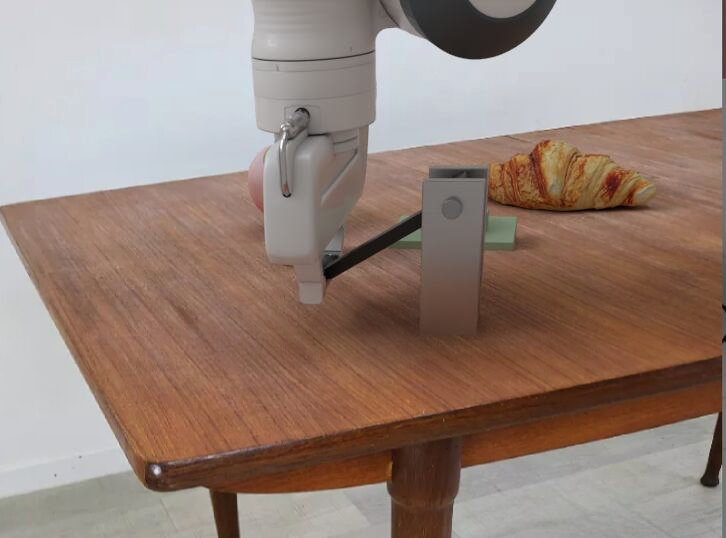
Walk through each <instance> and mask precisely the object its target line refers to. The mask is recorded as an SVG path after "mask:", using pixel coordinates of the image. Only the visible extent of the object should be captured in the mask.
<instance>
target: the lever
mask: <svg viewBox="0 0 726 538" xmlns="http://www.w3.org/2000/svg"><path fill="white" fill-rule="evenodd" d="M455 178H470V177H469V175H468V173H467V171H465V172H463V173H462V174H460V175H458V176H456V177H455ZM408 216H409V217H408V218H406V219H404V220H403V221H401V222H399V223H398V222H397V223H396V224H394V225H392V226H391V227H389V228H387V229H385V230H384V231H382V232H381V233H379V234H377V235H375V236H374V237H372V238H370V239H368V240H366V241H364V242H363V243H361V244H360V245H357V246H356V247H355V248H353V249H351V250H350V251H348V252H346V253H345V254H344V253H343V256H341V257H339V258H337V259H336V258H334V257H333V256H330V255H326V256H324V257H323V259H322V268H323V276H325V280H326V287H325V288H326V290H327V289H328V287H329V285H330V284H331V282H332V281H333V279H335V278H336V277H338V276H340V275H341V274H343V273H345V272H347V271H348V270H350V269H352V268H353V267H356V266H358V265H359V264H360V263H363V262H364V261H366V260H368V259H370V258H371V257H373V256H375V255H376V254H378V253H380V252H382V251H383V250H385V249H388V247H389V246H390V245H392V244H394V243H395V242H397V241H399V240H401V239H402V238H404V237H406V236H408V235H409V234H411V233H413V232H415V231H416V230H418V229H420V228H422V208H421V209H419V210H417V211H416V212H414V213H413V214H411V215H408Z"/></svg>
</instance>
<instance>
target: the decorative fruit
mask: <svg viewBox="0 0 726 538" xmlns="http://www.w3.org/2000/svg"><path fill="white" fill-rule="evenodd" d="M273 145H274V144H270V145H268V146H266V147H263V148H262V149H261V150H260V151H259V152H257V154H256V155H255V156H254V158H253V160H252V161H251V162H250V164H249V166H248V171H247V188H248V192H249V195H250V198H251V200H252V202H253V204H254V205H255V206H256V208H257V209H258V211H260V212H261V213H262V214H263V215H264V198H263V173H264V161H265V157H266V154H267V151H268V150H269V149H270V147H271V146H273Z"/></svg>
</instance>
